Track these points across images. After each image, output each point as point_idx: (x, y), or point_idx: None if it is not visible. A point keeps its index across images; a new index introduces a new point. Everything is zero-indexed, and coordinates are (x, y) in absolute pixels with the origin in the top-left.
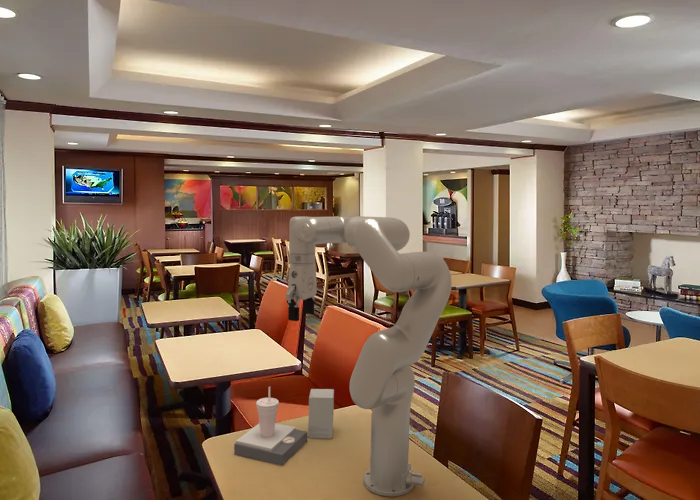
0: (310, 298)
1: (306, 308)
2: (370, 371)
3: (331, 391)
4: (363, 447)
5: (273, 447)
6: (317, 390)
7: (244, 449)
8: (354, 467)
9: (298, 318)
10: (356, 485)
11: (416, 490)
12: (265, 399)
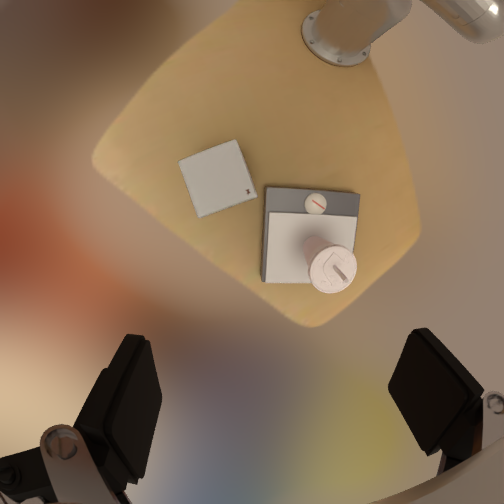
0: (101, 474)
1: (150, 413)
2: None
3: (196, 159)
4: (248, 85)
5: (350, 216)
6: (204, 196)
7: None
8: (317, 84)
9: (432, 335)
10: (359, 75)
11: None
12: (323, 281)
